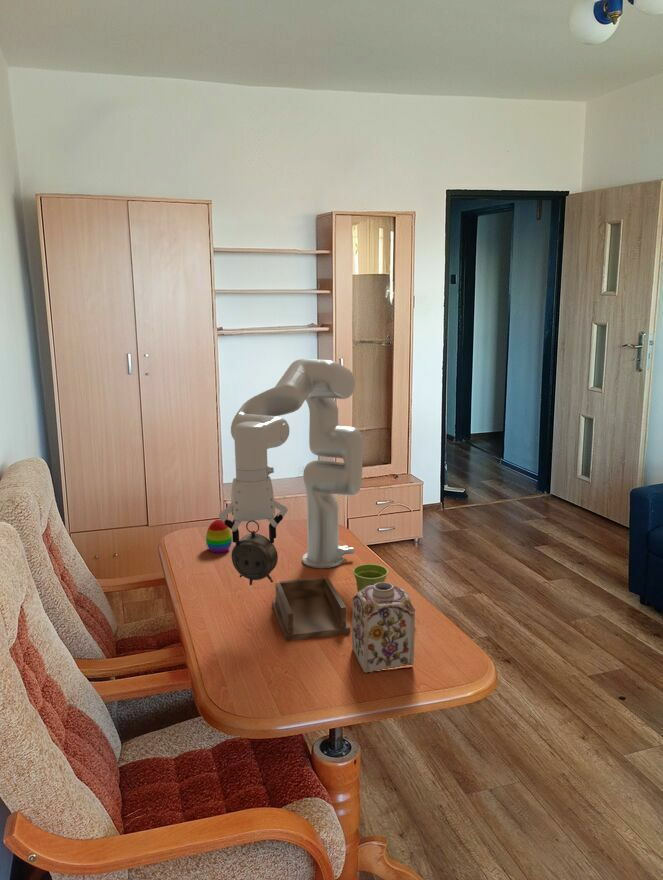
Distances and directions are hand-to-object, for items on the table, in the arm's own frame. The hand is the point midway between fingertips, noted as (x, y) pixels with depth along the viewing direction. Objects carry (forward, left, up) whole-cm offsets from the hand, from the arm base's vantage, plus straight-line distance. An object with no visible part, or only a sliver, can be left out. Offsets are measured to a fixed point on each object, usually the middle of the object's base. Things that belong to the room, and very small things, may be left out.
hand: (254, 542), depth 175 cm
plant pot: (-32, -7, -22) cm, 39 cm away
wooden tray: (-14, -1, -22) cm, 26 cm away
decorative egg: (+4, -54, -22) cm, 58 cm away
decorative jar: (-26, +22, -22) cm, 41 cm away
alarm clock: (0, 0, -11) cm, 11 cm away
